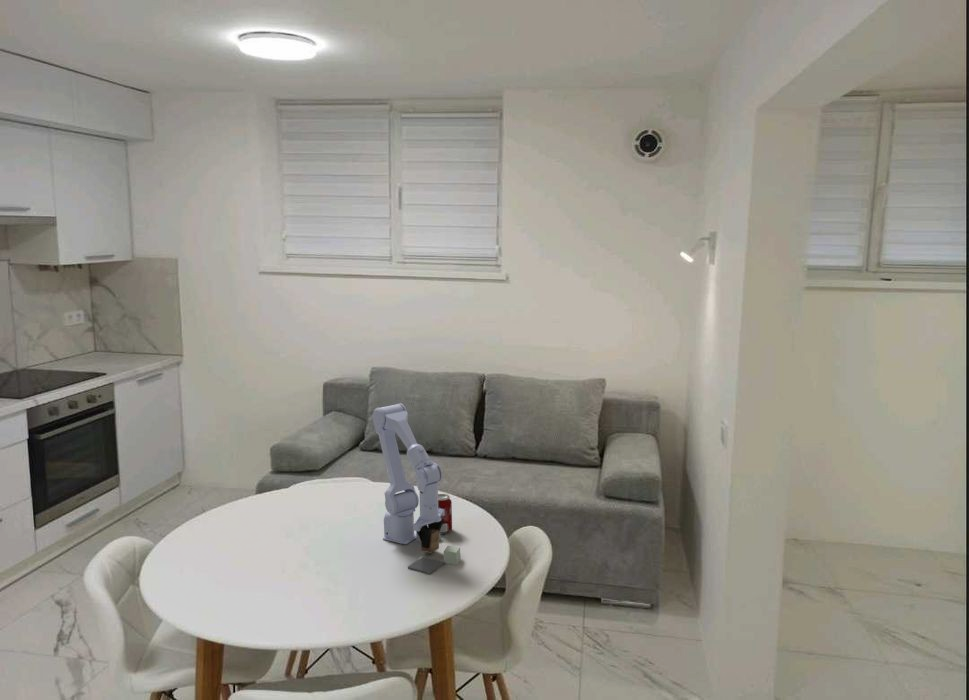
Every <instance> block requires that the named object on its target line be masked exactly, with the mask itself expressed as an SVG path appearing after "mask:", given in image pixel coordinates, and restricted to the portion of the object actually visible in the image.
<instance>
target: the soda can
mask: <svg viewBox="0 0 969 700" xmlns="http://www.w3.org/2000/svg"><path fill="white" fill-rule="evenodd" d="M450 498H451V496H450V495H449V494H447V493H438V509H439V508H440V509H444V510H445V515H444V516H441V517H440V518H441V519H443V520H444V523H443V525H442V527H441V529H440V535H444V534H448V533H450V532H451V531H452V530H453V513H452V509H453V507H452V504H453V502H452V499H450Z"/></svg>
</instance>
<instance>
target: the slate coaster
mask: <svg viewBox="0 0 969 700" xmlns="http://www.w3.org/2000/svg"><path fill="white" fill-rule="evenodd" d="M444 565H445V562H444V560H439V559H434V558H431V557H427V556H421V557H420V558H418V559H417V560H415V561H414V562H413V563H411V564H410V565H408V566H407V570H412V571H416V572H420V573H424V574H425V575H426V574H427V575H432V574H433V573H434V572H436V571H437V570H439V569H440V568H442V567H443V566H444Z"/></svg>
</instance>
